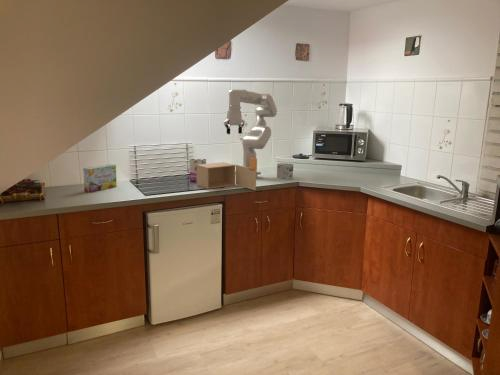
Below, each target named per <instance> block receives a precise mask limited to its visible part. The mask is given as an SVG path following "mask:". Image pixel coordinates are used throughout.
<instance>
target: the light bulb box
mask: <svg viewBox="0 0 500 375" xmlns="http://www.w3.org/2000/svg"><path fill="white" fill-rule="evenodd" d="M277 177H278V178H277ZM276 178H277V179H282V178H285V179H284V180H292V179H293V178H294V163H293V164H292V163H286V162H285V163H284V162H283V163H282V162H280V163H277V166H276ZM291 178H292V179H291Z"/></svg>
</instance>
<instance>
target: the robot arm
mask: <svg viewBox="0 0 500 375" xmlns="http://www.w3.org/2000/svg"><path fill="white" fill-rule="evenodd" d="M241 103H245V104H249V105H250V104H251V105H254V106H257V107H256V108H255V111H254V112H255V113H254V114H255V122H254V124H253V126H252V127H251V128H250V131H249V134H246V135H245V136H243V138H242V142H241V144H242V148H243V149H242V150H243V156H242V157H243V159H242V160H243V162H242V166H244V167H248V168H249V160H250V157H252V158H257V153H256V150H263V149H264V148H265V147H266V146H267V144H268V142H269V140H270V138H271V136H272V129H271V127H270V126H267V122H266V119H265V118H274V117H276V116H277V114H278V108H277V105H276V103H275V101H274V99H273V97H272V95H271V94H270V93H260V92H254V91H248V90H246V89H229V91H228V110H227V113H226V120H224V121H223V125H224V127H225V128H226V134H227V135H231V126H238V132H237V133H238V134H241V135H242V133H243V127H244V126H245V123H246V121H245V120H244V119H242V118H243V117H242V111H241V109H242V106H241ZM258 175H262V172H261V171H256V180H257V179H258V178H259V176H258Z"/></svg>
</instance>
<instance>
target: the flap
mask: <svg viewBox="0 0 500 375" xmlns="http://www.w3.org/2000/svg"><path fill="white" fill-rule="evenodd" d="M256 172H258V158H257V157H256V158H252V157H250V160H249V168H248V167H244V166H243V165H239V164H235V186H239V187H242V188H246V189H249V190H253V191H257V179H256Z"/></svg>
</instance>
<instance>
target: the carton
mask: <svg viewBox="0 0 500 375" xmlns="http://www.w3.org/2000/svg"><path fill="white" fill-rule="evenodd" d="M196 186H198V187H201V188H204V189H207V190H210V189H218V188H225V187H231V186H236V164H233V163H229V162H225V161H221V162H212V163H206V164H200V165H197V182H196Z"/></svg>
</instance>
